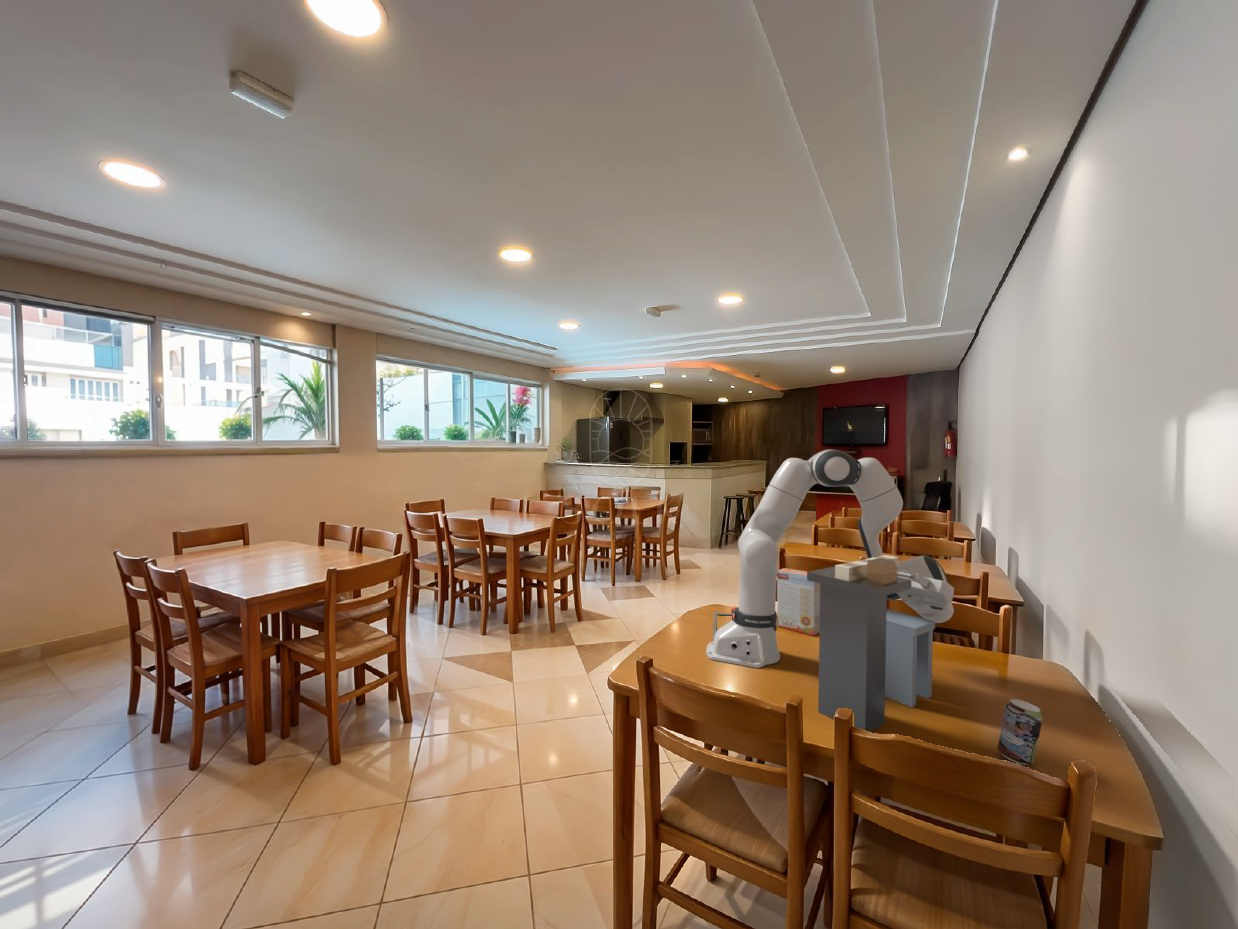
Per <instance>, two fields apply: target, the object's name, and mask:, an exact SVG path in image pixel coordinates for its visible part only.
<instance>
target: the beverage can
mask: <svg viewBox="0 0 1238 929" xmlns="http://www.w3.org/2000/svg"><path fill="white" fill-rule="evenodd" d="M1043 719H1044V718H1043V715H1042V713H1041V708H1039V707H1038V706H1036V705H1035V704H1033V703H1030V702H1029V701H1025V700H1023V699H1017V698H1011V699H1010V701H1009V702H1007V703H1006V704H1005V709H1004V713H1003V719H1002V723H1001V728H1000V729H1001V730H1000V734H999V740H998V744H997V749H998V751H999V752H1000V754H1001V755H1002V756H1003V757H1004V758H1005V759H1007V760H1009V761H1011V762H1013V763H1015V762H1016V764H1018V763H1021V764H1020V765H1022V764H1023V765H1022V766H1028V765H1033V764H1034V763H1035V759H1036V754H1037V749H1038V745H1039V738H1040V733H1041V728H1042V725H1043Z"/></svg>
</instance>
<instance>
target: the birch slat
mask: <svg viewBox="0 0 1238 929" xmlns="http://www.w3.org/2000/svg"><path fill="white" fill-rule="evenodd" d="M878 558H882V559H887V560H893V561H895V570H897V569H899V562H900V556H895V555H888V554H883V556H878V557H873V558H864V559H859V560H855V561H850V562H845V563H840V564H835V565H834V566H835V578H837V579H841V580H846V581H852V580H856V579H860V578H864V577H867V567H868V560H873V559H878Z"/></svg>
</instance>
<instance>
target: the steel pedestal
mask: <svg viewBox="0 0 1238 929" xmlns="http://www.w3.org/2000/svg"><path fill="white" fill-rule="evenodd" d="M806 572H807V580H808V581H812V582H816V583H820V632H819V633H818V634H819V640H818V642H819V643H818V644H819V645H818V646H819V647H818V649H819V650H818V704H817V707H818V709H817V712H818V713H820V714H821V715H823V714H824V716H825V715H827V716H829V717H828V718H830V719H832V720H834V719H833V718H834V715H835V712H836V710H837V709H838V708H848V709H851V710H852V712H853V713H854V727H856V728H859V729H862V730H866V731H871V732H873V731H875V730H876V729H879V728H880V727H882V726H884V725H885V719H886V718H885V715H886V714H885V712H886V711H885V708H886V707H885V705H886V704H885V703H886V701H885V700H886V697H885V665H886V612H887V610H888V609H887V608H888V607H887V606H888V605H887V602H888V601H887V600H888V599H887V595H890V594H893V593H897V592H900V591H904V590H907V589H911V580H910V579H905V578H900V577H897V571H895V561H893V560H887V559H882V558H878V559H873V560H868V567H867V577H864V578H860V579H856V580H852V581H846V580H841V579H837V578H835V565H834V566H830V567H826V568H821V569H816V570H810V571H806ZM827 716H826V717H827Z"/></svg>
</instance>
